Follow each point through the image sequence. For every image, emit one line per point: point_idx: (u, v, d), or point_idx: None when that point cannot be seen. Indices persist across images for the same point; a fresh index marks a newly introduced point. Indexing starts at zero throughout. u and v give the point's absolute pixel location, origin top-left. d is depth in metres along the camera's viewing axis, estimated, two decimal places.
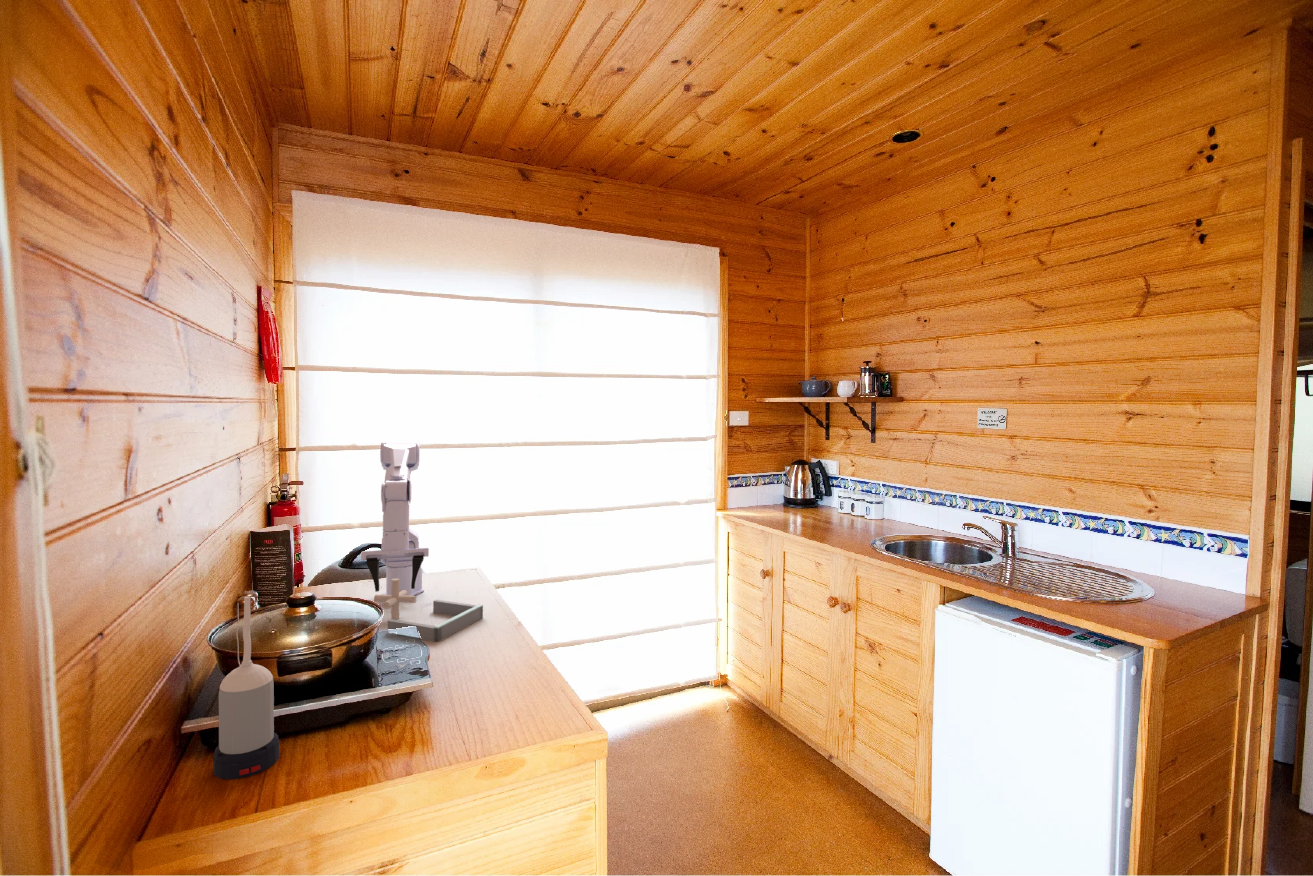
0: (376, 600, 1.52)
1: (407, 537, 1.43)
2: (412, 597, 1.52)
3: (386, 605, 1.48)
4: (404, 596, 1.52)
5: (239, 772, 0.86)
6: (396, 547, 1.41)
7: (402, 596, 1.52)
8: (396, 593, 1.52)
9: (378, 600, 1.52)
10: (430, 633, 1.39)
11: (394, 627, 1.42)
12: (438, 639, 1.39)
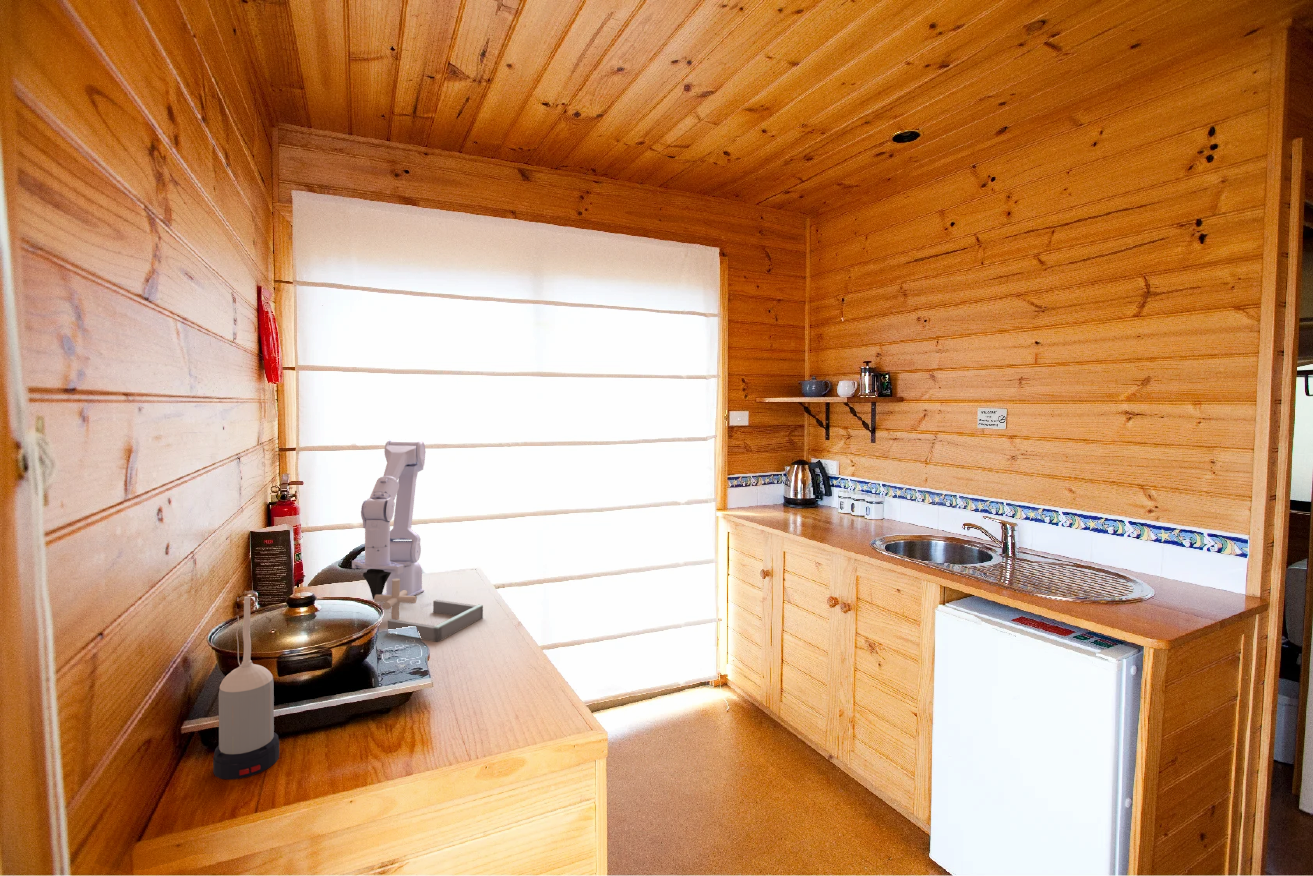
0: (376, 600, 1.52)
1: (382, 553, 1.52)
2: (412, 597, 1.52)
3: (386, 605, 1.48)
4: (404, 596, 1.52)
5: (239, 772, 0.86)
6: (369, 562, 1.51)
7: (402, 596, 1.52)
8: (396, 593, 1.52)
9: (378, 600, 1.52)
10: (430, 633, 1.39)
11: (394, 627, 1.42)
12: (438, 639, 1.39)
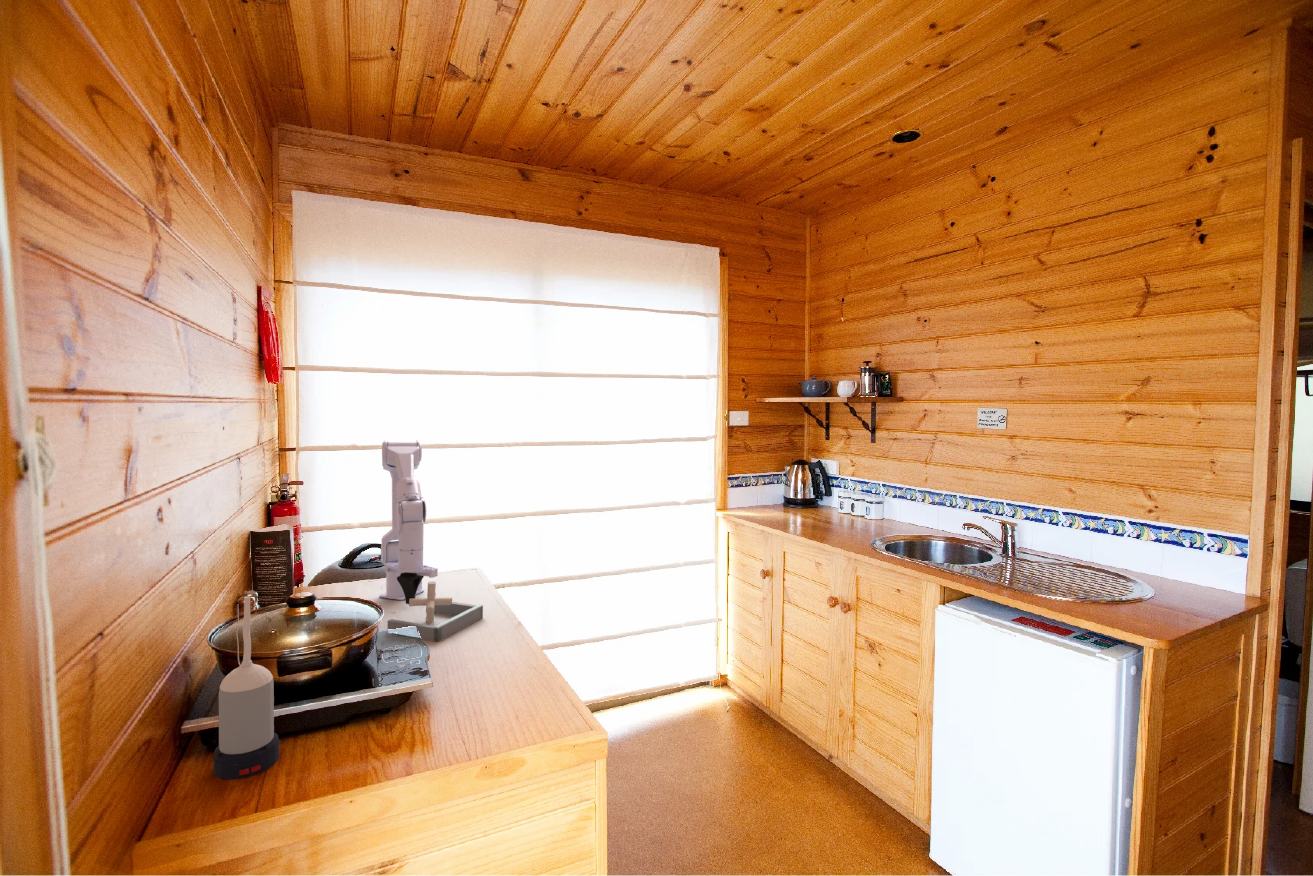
0: (411, 604, 1.49)
1: (416, 557, 1.49)
2: (450, 599, 1.51)
3: (430, 610, 1.46)
4: (441, 599, 1.51)
5: (239, 772, 0.86)
6: (403, 566, 1.48)
7: (439, 599, 1.51)
8: (433, 596, 1.50)
9: (413, 604, 1.49)
10: (430, 633, 1.39)
11: (394, 627, 1.42)
12: (438, 639, 1.39)
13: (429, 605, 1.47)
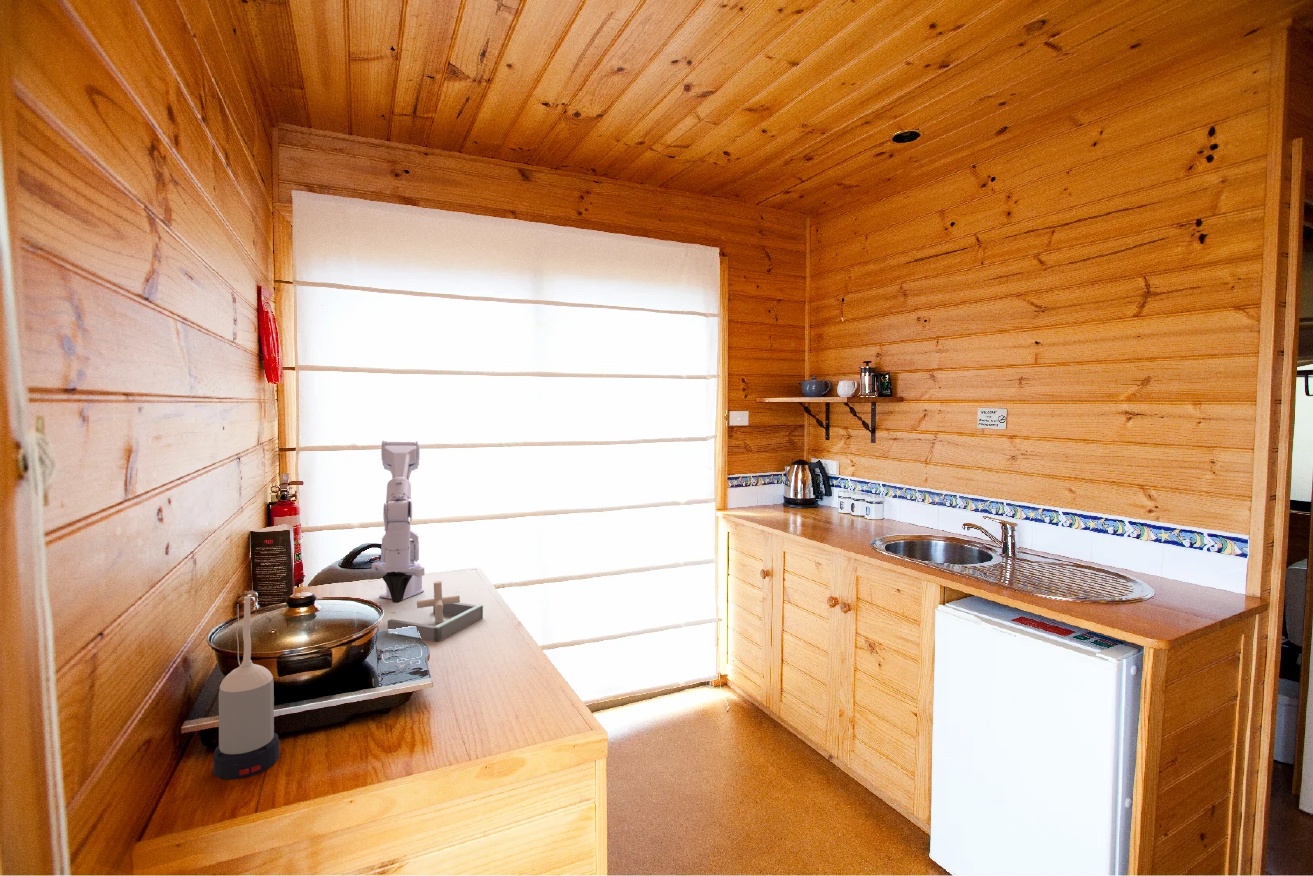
0: (419, 606, 1.49)
1: (402, 556, 1.50)
2: (457, 597, 1.52)
3: (439, 608, 1.46)
4: (448, 597, 1.51)
5: (239, 772, 0.86)
6: (390, 565, 1.49)
7: (446, 598, 1.51)
8: (440, 595, 1.50)
9: (421, 606, 1.49)
10: (430, 633, 1.39)
11: (394, 627, 1.42)
12: (438, 639, 1.39)
13: (438, 603, 1.47)
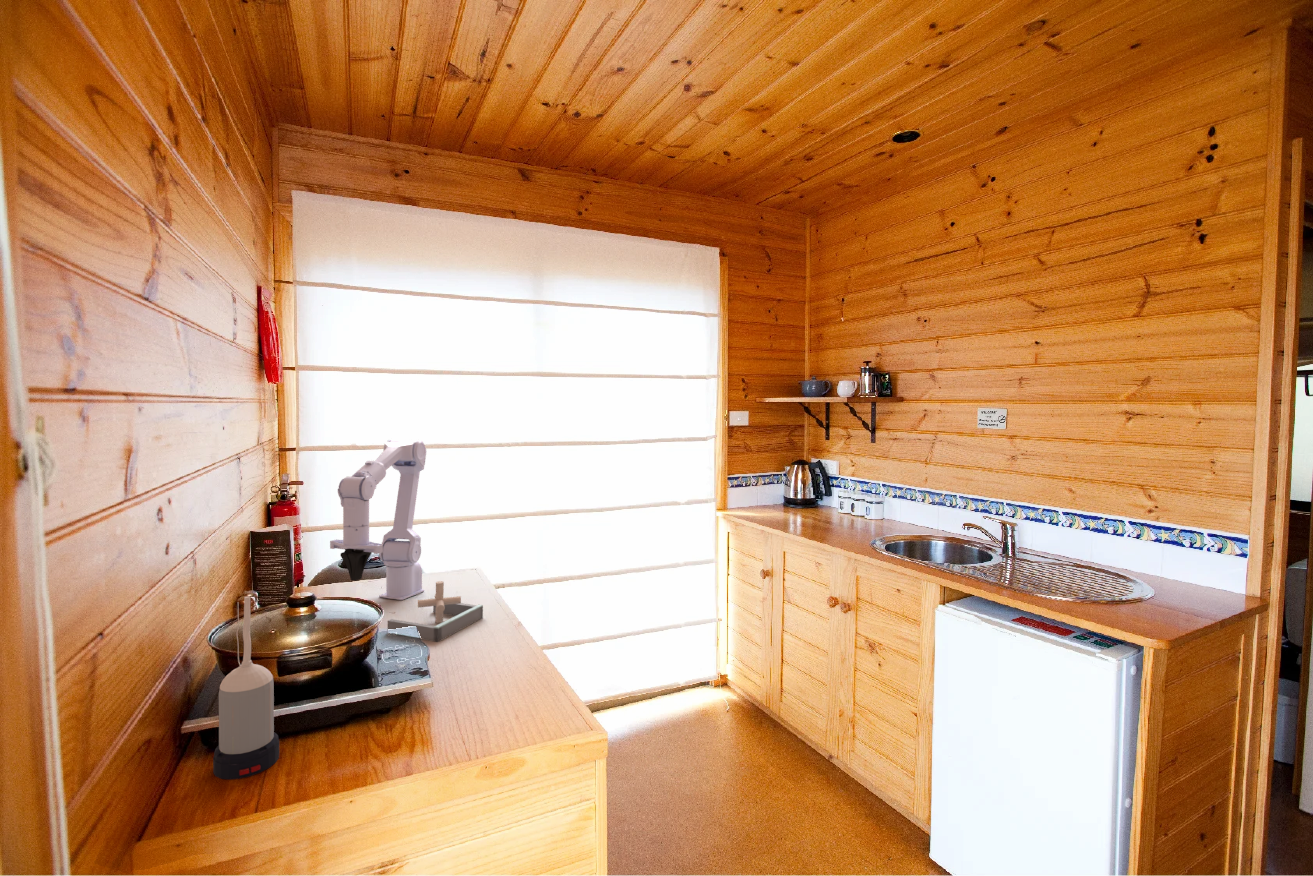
0: (420, 605, 1.48)
1: (360, 533, 1.48)
2: (459, 598, 1.52)
3: (441, 608, 1.46)
4: (450, 598, 1.51)
5: (239, 772, 0.86)
6: (348, 542, 1.47)
7: (448, 598, 1.51)
8: (442, 596, 1.51)
9: (422, 605, 1.49)
10: (430, 633, 1.39)
11: (394, 627, 1.42)
12: (438, 639, 1.39)
13: (440, 603, 1.47)
